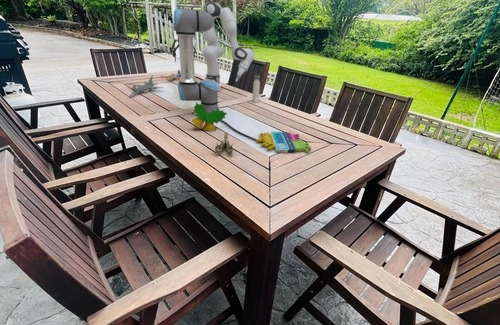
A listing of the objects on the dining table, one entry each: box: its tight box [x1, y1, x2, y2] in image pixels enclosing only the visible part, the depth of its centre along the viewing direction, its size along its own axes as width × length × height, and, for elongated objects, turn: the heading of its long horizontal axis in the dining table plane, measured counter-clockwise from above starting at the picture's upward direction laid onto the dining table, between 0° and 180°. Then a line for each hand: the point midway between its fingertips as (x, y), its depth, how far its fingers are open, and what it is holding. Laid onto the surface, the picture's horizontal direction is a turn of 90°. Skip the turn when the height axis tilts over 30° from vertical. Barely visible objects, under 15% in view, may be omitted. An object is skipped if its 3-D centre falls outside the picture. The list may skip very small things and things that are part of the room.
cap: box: [253, 75, 261, 80], centre depth 214 cm, size 4×4×2 cm
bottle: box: [251, 79, 261, 103], centre depth 219 cm, size 6×6×21 cm
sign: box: [255, 131, 312, 154], centre depth 152 cm, size 26×2×30 cm
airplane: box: [127, 74, 164, 98], centre depth 226 cm, size 38×31×10 cm
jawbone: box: [214, 131, 234, 156], centre depth 136 cm, size 9×15×10 cm
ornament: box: [191, 101, 228, 132], centre depth 162 cm, size 21×8×15 cm, turn 105°
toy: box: [160, 69, 181, 82], centre depth 279 cm, size 28×7×30 cm
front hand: (184, 61), depth 211 cm, fingers open, 13 cm apart
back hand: (236, 81), depth 236 cm, fingers open, 8 cm apart
